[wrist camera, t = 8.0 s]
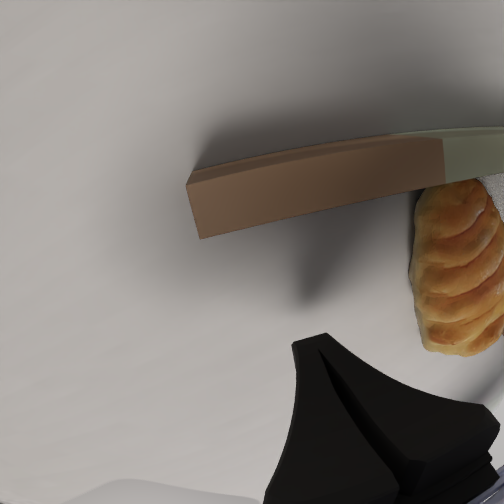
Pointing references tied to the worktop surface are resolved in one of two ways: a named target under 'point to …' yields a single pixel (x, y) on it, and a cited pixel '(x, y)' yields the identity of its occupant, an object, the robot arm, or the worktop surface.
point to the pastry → (458, 268)
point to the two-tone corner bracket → (338, 175)
